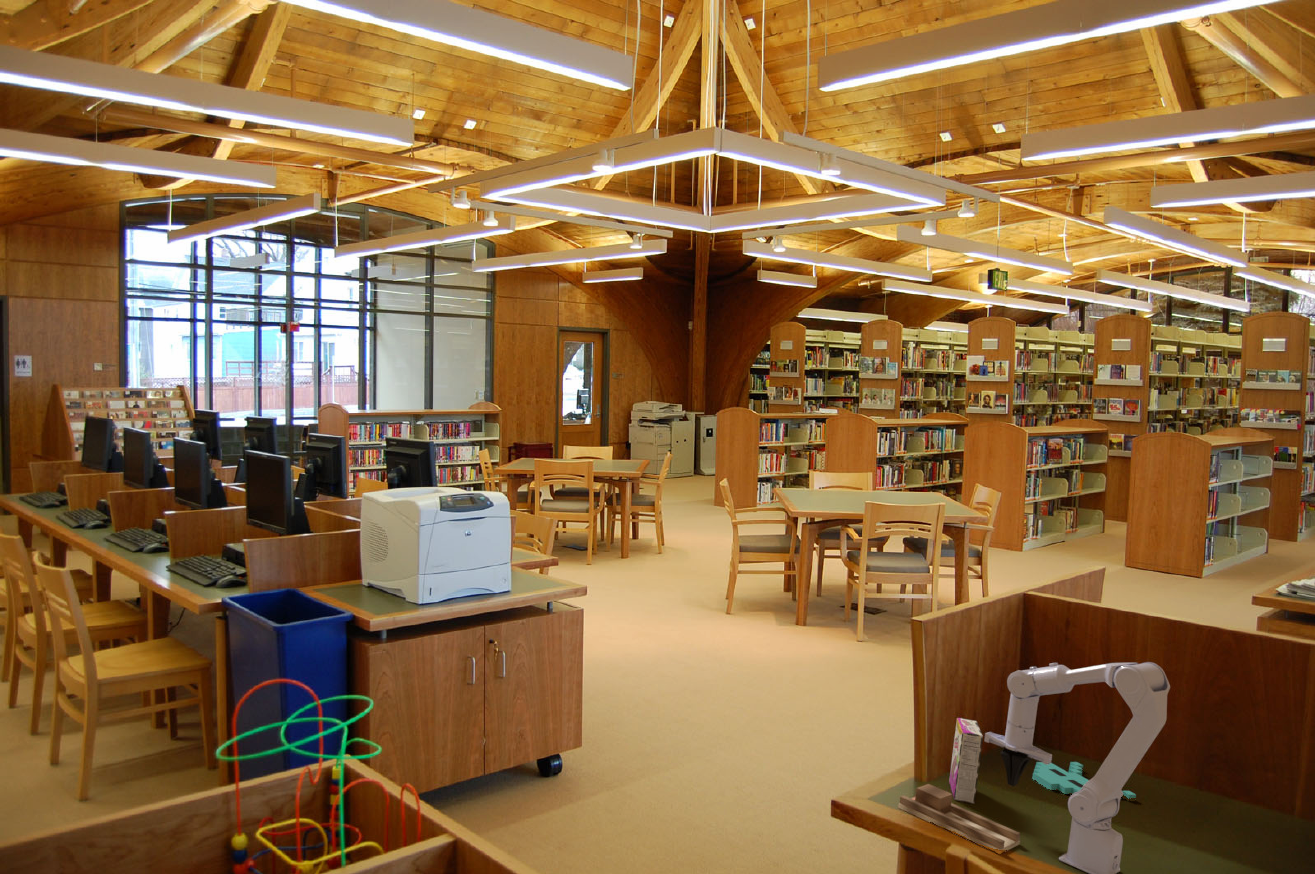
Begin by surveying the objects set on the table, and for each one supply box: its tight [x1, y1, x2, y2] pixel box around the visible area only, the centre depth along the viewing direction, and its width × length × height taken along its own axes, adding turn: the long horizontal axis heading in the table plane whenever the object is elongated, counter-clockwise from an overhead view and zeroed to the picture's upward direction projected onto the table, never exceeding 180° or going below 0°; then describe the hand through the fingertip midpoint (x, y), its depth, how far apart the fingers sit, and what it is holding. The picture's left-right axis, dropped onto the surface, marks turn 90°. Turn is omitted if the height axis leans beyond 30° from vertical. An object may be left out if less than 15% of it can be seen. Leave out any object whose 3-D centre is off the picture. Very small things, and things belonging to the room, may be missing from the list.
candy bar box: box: [948, 717, 984, 805], centre depth 219 cm, size 11×5×16 cm, turn 168°
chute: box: [898, 795, 1021, 851], centre depth 201 cm, size 24×9×2 cm, turn 43°
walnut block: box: [914, 783, 953, 814], centre depth 205 cm, size 6×5×4 cm
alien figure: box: [1031, 761, 1137, 799], centre depth 235 cm, size 20×2×20 cm
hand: (1012, 784), depth 203 cm, fingers closed
